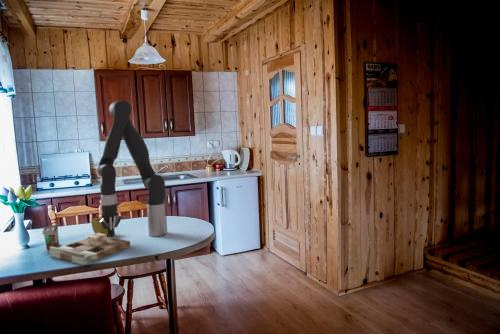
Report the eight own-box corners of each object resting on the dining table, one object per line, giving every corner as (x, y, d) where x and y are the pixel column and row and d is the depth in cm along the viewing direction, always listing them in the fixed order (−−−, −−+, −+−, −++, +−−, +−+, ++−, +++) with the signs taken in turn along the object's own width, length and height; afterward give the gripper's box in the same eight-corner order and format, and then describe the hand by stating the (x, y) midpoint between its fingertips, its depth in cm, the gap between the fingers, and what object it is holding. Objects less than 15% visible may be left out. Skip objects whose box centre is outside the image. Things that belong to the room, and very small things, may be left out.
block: (98, 240, 184) (98, 232, 184) (106, 242, 181) (106, 234, 181) (88, 244, 179) (87, 236, 179) (96, 245, 176) (95, 237, 176)
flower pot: (105, 232, 210) (104, 216, 209) (115, 234, 206) (114, 218, 205) (91, 236, 203) (90, 220, 202) (102, 238, 198) (100, 222, 197)
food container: (46, 244, 190) (44, 226, 189) (59, 243, 192) (57, 224, 191) (41, 252, 179) (39, 232, 178) (56, 250, 181) (54, 230, 180)
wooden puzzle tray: (98, 240, 195) (97, 232, 194) (130, 247, 182) (129, 238, 182) (50, 256, 172) (49, 247, 172) (83, 264, 160) (82, 254, 159)
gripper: (114, 200, 193) (117, 232, 195) (92, 205, 181) (95, 239, 183) (124, 201, 189) (127, 234, 191) (102, 206, 178) (105, 241, 180)
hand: (111, 236), depth 187 cm, fingers closed
